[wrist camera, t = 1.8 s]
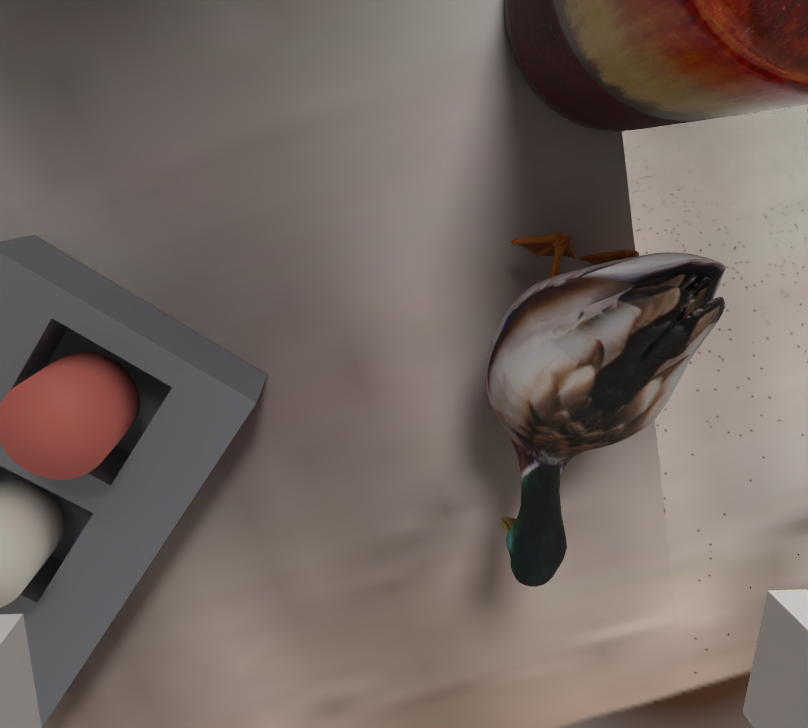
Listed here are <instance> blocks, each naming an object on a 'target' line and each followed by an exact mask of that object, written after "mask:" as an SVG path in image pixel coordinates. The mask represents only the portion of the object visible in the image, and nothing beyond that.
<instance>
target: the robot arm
mask: <svg viewBox="0 0 808 728" xmlns="http://www.w3.org/2000/svg"><path fill="white" fill-rule="evenodd" d="M743 713H744V715H745V716H746V717H747V719H748V720H749V721H750V723H751V724H752V725H753V727H754V728H808V590H807V589H804V590H772V591H768V592H767V596H766V601H765V606H764V611H763V616H762V621H761V626H760V631H759V636H758V640H757V645H756V650H755V655H754V660H753V665H752V670H751V675H750V680H749V684H748V689H747V694H746V699H745V704H744V709H743ZM0 728H42V727H41V721H40V715H39V709H38V703H37V696H36V690H35V684H34V678H33V671H32V665H31V659H30V653H29V647H28V640H27V634H26V628H25V622H24V615H23V614H0Z"/></svg>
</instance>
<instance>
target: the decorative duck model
mask: <svg viewBox="0 0 808 728" xmlns="http://www.w3.org/2000/svg"><path fill="white" fill-rule="evenodd" d="M511 242H512V244H518V245H521V246H523V247H525V248H527V249H528V250H530V251H531V252H533V253H534V254H535V255H536V256H537V257H538V256H554V260H553V265H552V269H551V274H550V278H548V279H545V280H543V281H540V282H538V283H536V284H535V285H533V286H531V287H530V288H529V289H527V290H526V291H525V292H524V293H523V294H521V295H520V296H519V297H518V298H517V299H516V300H515V301H514V302H513V303H512V304H511V306H510V307H509V308H508V309H507V311H506V313H505V314H504V316H503V318H502V320H501V321H500V323H499V325H498V328H497V330H496V332H495V335H494V337H493V340H492V343H491V346H490V350H489V354H488V359H487V370H486V386H487V392H488V397H489V400H490V403H491V406H492V408H493V410H494V412H495V414H496V416H497V417H498V419H499V420H500V422H501V423H502V425H503V426H504V428H505V429H506V431H507V433H508V435H509V436H510V438H511V440H512V442H513V445H514V447H515V450H516V453H517V456H518V459H519V465H520V470H521V485H522V492H521V507H520V511H519V515H518V517H517V519H514V518H509V517H503V519H501V524H502V526H503V528H504V529H505V531H506V533H507V537H506V542H507V546H508V550H509V554H510V558H511V568H512V571H513V574H514V576H515V578H516V579H517V580H518V581H519V582H520V583H522V584H524V585H527V586H540V585H543V584H545V583H546V582H548V581H549V580H550V579H551V578H552V577H553V575H554V574H555V572H556V571H557V569H558V567H559V566H560V564H561V562H562V561H563V559H564V556H565V552H566V548H567V545H566V536H565V531H564V526H563V521H562V516H561V505H560V494H559V487H560V477H561V473H562V471H563V469H564V466H565V465H566V464H567V463H568V461H569V460H570V459H571V458H572V457H574V456H575V455H577V454H579V453H581V452H584V451H587V450H591V449H595V448H600V447H604V446H607V445H611V444H614V443H617V442H619V441H622V440H624V439H626V438H628V437H630V436H632V435H634V434H635V433H637V432H639V431H640V430H642V429H643V428H645V427H646V426H647V425H649V424H650V423H651V422H652V421H653V420H654V419H655V418H656V417H657V416H658V414H659V413H660V412H661V410H662V409H663V408H664V406H665V405H666V403H667V402H668V400H669V398H670V396H671V395H672V393H673V391H674V389H675V387H676V385H677V384H678V382H679V380H680V378H681V376H682V374H683V372H684V370H685V368H686V366H687V364H688V362H689V360H690V359H691V357H692V356H693V355H694V353H695V352H696V350H697V349H698V348H699V346H700V345H701V343H702V342H703V341H704V339H705V338H706V336H707V335H708V334H709V333H710V331H711V330H712V329H713V327H714V326H715V325H716V323H717V322H718V320H719V318H720V316H721V315H722V313H723V310H724V304H725V302H724V299H723V298H722V297H719V298H715V299H714V296H715V293H716V291H717V289H718V287H719V284H720V281H721V278H722V275H723V273H724V270H725V266H724V265H723V264H722V263H720V262H717V261H715V260H712V259H709V258H705V257H701V256H697V255H693V254H685V253H654V254H649V255H643V256H639V253H638V252H637V251H634V250H626V249H625V250H620V251H615V252H606V253H599V254H592V255H587V256H582V257H580V258H579V257H578V258H579V259H580V260H584V261H588V262H590V263H592V264H593V265H594V266H590V267H586V268H582V269H579V270H575V271H571V272H568V273H564V274H561V275H559V269H560V262H561V257H562V256H568V257H573V258H574V259H575V258H576V252H575V250H574V248H573V245H572V243H571V238H570V236H568V235H566V234H563V233H554V234H551V235H544V236H534V237H526V238H521V239H517V240H513V241H511ZM713 299H714V300H713Z"/></svg>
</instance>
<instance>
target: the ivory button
mask: <svg viewBox="0 0 808 728" xmlns="http://www.w3.org/2000/svg"><path fill="white" fill-rule="evenodd" d="M64 530H65V521H64V516H63V512H62V510H61V508H60V506H59V505H58V503H57V502H56V500H55V499H54V498H53V497H52V496H51V495H50V494H49V493H48V492H46V491H45V490H44V489H42V488H40V487H39V486H37V485H34V484H32V483H29V482H26V481H22V480H14V479H6V480H0V607H3V606H5V605H7V604H9V603H11V602H12V601H13V600H15V599H16V598H17V597H18V596H19V595H20V594H21V593H22V591H23V590H24V589H25V588H26V586H27V585H28V584H29V582H30V581H31V580H32V578H33V577H34V576H35V575H36V573H37V572H38V571H39V569H40V568H41V567H42V566H43V564H44V563H45V562H46V560H47V559H48V558H49V557H50V555H51V554H52V553H53V551H54V550H55V549H56V548H57V546H58V545H59V544H60V542H61V540H62V538H63V535H64Z"/></svg>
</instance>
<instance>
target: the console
mask: <svg viewBox="0 0 808 728" xmlns="http://www.w3.org/2000/svg"><path fill="white" fill-rule="evenodd" d="M77 352H91V353H96V354H101V355H103V356H106V357H108V358H110V359H112V360H114V361H116V362H117V363H119V364H120V365H121V366H122V367H123V368H125V370H126V371H127V372H128V373H129V374H130V375H131V377H132V378H133V380H134V382H135V384H136V386H137V389H138V392H139V398H140V408H139V413H138V416H137V419H136V421H135V422H134V424H133V425H132V427H131V428H130V429H129V431H128V432H127V433H126V434H125V435H124V436H123V438H122V439H121V440H120V441H119V442H118V443H117V445H116V446H115V447H114V448H113V449H112V451H111V452H110V453H109V454H108V455H107V456H106V458H105V459H104V460H103V461H102V462H101V463H100V464H99V465H98V466H97V467H96V468H95V469H93V470H92V471H90V472H89V473H87V474H85V475H82V476H80V477H76V478H72V479H62V480H58V479H49V478H44V477H41V476H38V475H35V474H33V473H31V472H29V471H27V470H25V469H23V468H22V467H21V466H19V465H18V464H17V463H16V462H15V461H14V460H12V459H11V457H10V456H9V455H8V454H7V453H6V451H5V449H4V448H3V446H2V444H1V442H0V480H6V479H14V480H22V481H26V482H29V483H32V484H34V485H37V486H39V487H40V488H42V489H44V490H45V491H46V492H48V493H49V494H50V495H51V496H52V497H53V498H54V499H55V500H56V502H57V503H58V505H59V506H60V508H61V510H62V512H63V516H64V521H65V530H64V535H63V538H62V540H61V542H60V544H59V545H58V546H57V548H56V549H55V550H54V551H53V553H52V554H51V555H50V557H49V558H48V559H47V560H46V562H45V563H44V564H43V566H42V567H41V568H40V569H39V571H38V572H37V573H36V575H35V576H34V577H33V578H32V580H31V581H30V582H29V584H28V585H27V586H26V588H25V589H24V590H23V591H22V593H21V594H20V595H19V596H18V597H17V598H16V599H15V600H13V601H12V602H11V603H9V604H7V605H5V606H3V607H0V614H23V615H24V622H25V628H26V634H27V640H28V647H29V653H30V659H31V665H32V671H33V678H34V684H35V690H36V696H37V703H38V709H39V715H40V721H41V727H43V726H44V724H45V723H46V721H47V720H48V718H49V717H50V715H51V714H52V712H53V710H54V709H55V707H56V706H57V704H58V703H59V701H60V700H61V698H62V697H63V695H64V694H65V692H66V691H67V689H68V688H69V686H70V685H71V683H72V682H73V680H74V679H75V677H76V676H77V674H78V673H79V671H80V670H81V668H82V667H83V665H84V663H85V662H86V660H87V659H88V657H89V656H90V654H91V653H92V651H93V650H94V648H95V647H96V645H97V644H98V642H99V641H100V639H101V638H102V636H103V635H104V633H105V632H106V630H107V629H108V627H109V626H110V624H111V623H112V621H113V620H114V618H115V617H116V615H117V613H118V612H119V610H120V609H121V607H122V606H123V604H124V603H125V601H126V600H127V598H128V597H129V595H130V594H131V592H132V591H133V589H134V588H135V586H136V585H137V583H138V582H139V580H140V579H141V577H142V576H143V574H144V573H145V571H146V570H147V568H148V566H149V565H150V563H151V562H152V560H153V559H154V557H155V556H156V554H157V553H158V551H159V550H160V548H161V547H162V545H163V544H164V542H165V541H166V539H167V538H168V536H169V535H170V533H171V532H172V530H173V529H174V527H175V526H176V524H177V523H178V521H179V519H180V518H181V516H182V515H183V513H184V512H185V510H186V509H187V507H188V506H189V504H190V503H191V501H192V500H193V498H194V497H195V495H196V494H197V492H198V491H199V489H200V488H201V486H202V485H203V483H204V482H205V480H206V479H207V477H208V476H209V474H210V472H211V471H212V469H213V468H214V466H215V465H216V463H217V462H218V460H219V459H220V457H221V456H222V454H223V453H224V451H225V450H226V448H227V447H228V445H229V444H230V442H231V441H232V439H233V438H234V436H235V435H236V433H237V432H238V430H239V429H240V427H241V426H242V424H243V422H244V421H245V419H246V418H247V416H248V415H249V413H250V412H251V410H252V409H253V407H254V406H255V404H256V403H257V400H258V398H259V395H260V393H261V390H262V388H263V385H264V383H265V380H266V378H267V374H265V373H263V372H262V371H260V370H258V369H257V368H255V367H253V366H252V365H250V364H248V363H247V362H245V361H243V360H242V359H240V358H238V357H237V356H235V355H233V354H232V353H230V352H228V351H227V350H225V349H223V348H222V347H220V346H218V345H217V344H215V343H213V342H212V341H210V340H208V339H207V338H205V337H203V336H202V335H200V334H198V333H197V332H195V331H193V330H192V329H190V328H188V327H187V326H185V325H183V324H182V323H180V322H178V321H177V320H175V319H173V318H172V317H170V316H168V315H167V314H165V313H163V312H162V311H160V310H158V309H157V308H155V307H153V306H152V305H150V304H148V303H147V302H145V301H143V300H142V299H140V298H138V297H137V296H135V295H133V294H132V293H130V292H128V291H127V290H125V289H123V288H122V287H120V286H118V285H117V284H115V283H113V282H112V281H110V280H108V279H107V278H105V277H103V276H102V275H100V274H98V273H97V272H95V271H93V270H92V269H90V268H88V267H87V266H85V265H83V264H82V263H80V262H78V261H77V260H75V259H73V258H72V257H70V256H68V255H67V254H65V253H63V252H62V251H60V250H58V249H57V248H55V247H53V246H52V245H50V244H48V243H47V242H45V241H43V240H42V239H40V238H38V237H37V236H35V235H33V236H28V237H23V238H18V239H13V240H8V241H3V242H0V404H1V402H2V400H3V399H4V397H5V396H6V395H7V394H8V392H9V391H10V390H12V389H13V388H14V387H15V386H17V385H18V384H20V383H22V382H23V381H25V380H26V379H28V378H29V377H31V376H32V375H34V374H35V373H37V372H39V371H40V370H42V369H43V368H45V367H46V366H48V365H49V364H51V363H53V362H54V361H56V360H57V359H59V358H61V357H63V356H65V355H68V354H72V353H77Z"/></svg>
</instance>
